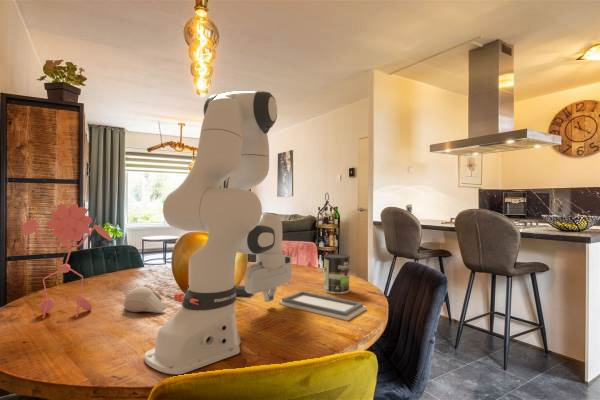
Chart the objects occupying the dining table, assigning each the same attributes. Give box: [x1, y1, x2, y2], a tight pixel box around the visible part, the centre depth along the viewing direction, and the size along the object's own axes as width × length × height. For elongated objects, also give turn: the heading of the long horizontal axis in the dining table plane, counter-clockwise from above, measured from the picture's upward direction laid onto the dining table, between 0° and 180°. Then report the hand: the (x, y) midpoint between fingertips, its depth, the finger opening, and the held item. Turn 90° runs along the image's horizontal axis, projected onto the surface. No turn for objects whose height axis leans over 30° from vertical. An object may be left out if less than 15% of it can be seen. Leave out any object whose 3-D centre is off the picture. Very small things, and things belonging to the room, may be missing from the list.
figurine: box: [21, 203, 112, 319], centre depth 107 cm, size 15×26×35 cm, turn 100°
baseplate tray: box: [278, 290, 367, 322], centre depth 114 cm, size 13×27×2 cm, turn 54°
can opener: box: [236, 285, 252, 297], centre depth 128 cm, size 19×6×5 cm
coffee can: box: [323, 253, 350, 295], centre depth 134 cm, size 10×10×14 cm
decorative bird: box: [123, 286, 167, 314], centre depth 108 cm, size 9×16×8 cm, turn 58°
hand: (269, 300), depth 113 cm, fingers closed
